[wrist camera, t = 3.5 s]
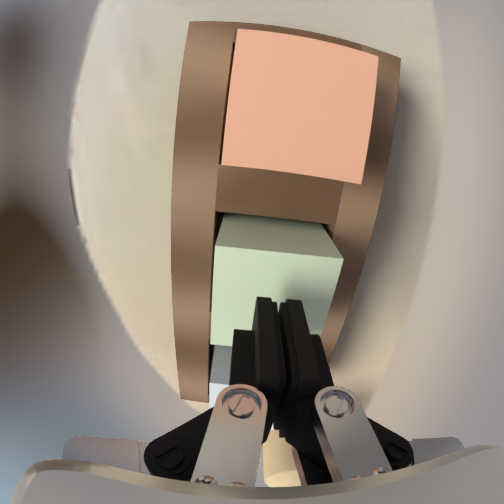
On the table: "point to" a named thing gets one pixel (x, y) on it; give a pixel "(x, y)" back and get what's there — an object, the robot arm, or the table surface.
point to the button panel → (256, 192)
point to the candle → (279, 462)
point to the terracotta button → (299, 106)
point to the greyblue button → (220, 372)
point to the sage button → (270, 271)
